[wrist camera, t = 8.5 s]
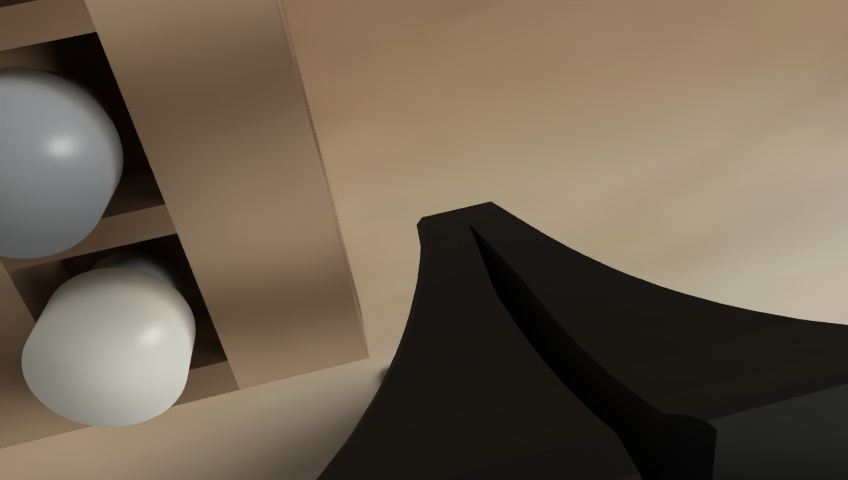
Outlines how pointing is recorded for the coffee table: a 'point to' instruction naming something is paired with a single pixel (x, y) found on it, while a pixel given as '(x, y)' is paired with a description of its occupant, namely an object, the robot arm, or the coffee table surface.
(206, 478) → the coffee table surface
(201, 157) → the wooden tray
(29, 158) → the blue-grey ball
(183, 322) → the white ball
